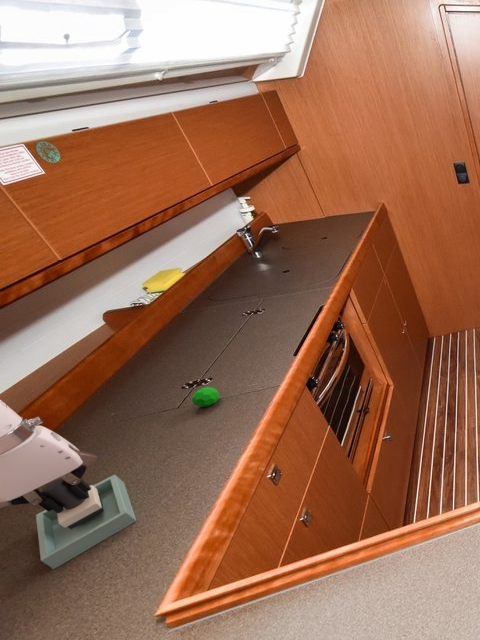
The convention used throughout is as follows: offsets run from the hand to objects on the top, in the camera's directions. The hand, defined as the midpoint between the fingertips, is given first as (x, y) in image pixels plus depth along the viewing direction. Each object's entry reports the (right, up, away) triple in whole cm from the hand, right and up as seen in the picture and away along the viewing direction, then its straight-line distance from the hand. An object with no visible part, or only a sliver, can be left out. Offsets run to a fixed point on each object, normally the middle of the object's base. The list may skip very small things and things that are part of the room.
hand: (72, 500), depth 80 cm
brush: (0, -3, +2) cm, 4 cm away
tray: (+2, -5, +1) cm, 6 cm away
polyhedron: (-3, +11, +29) cm, 31 cm away
